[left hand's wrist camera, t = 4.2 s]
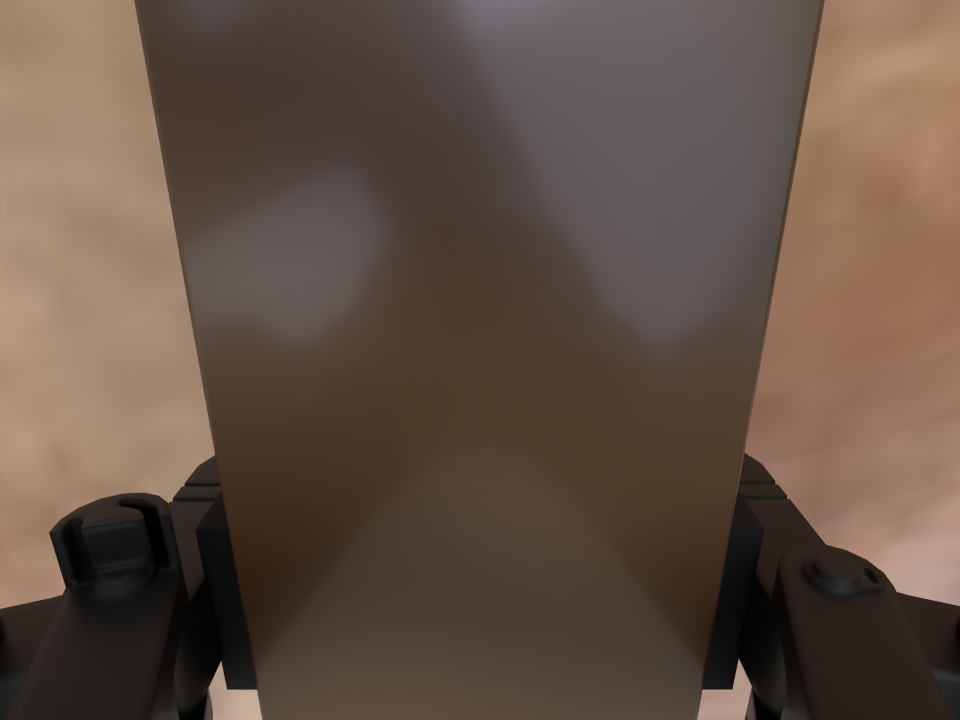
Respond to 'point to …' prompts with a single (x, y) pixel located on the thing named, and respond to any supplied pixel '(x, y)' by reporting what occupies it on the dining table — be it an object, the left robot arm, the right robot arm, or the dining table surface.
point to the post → (479, 332)
